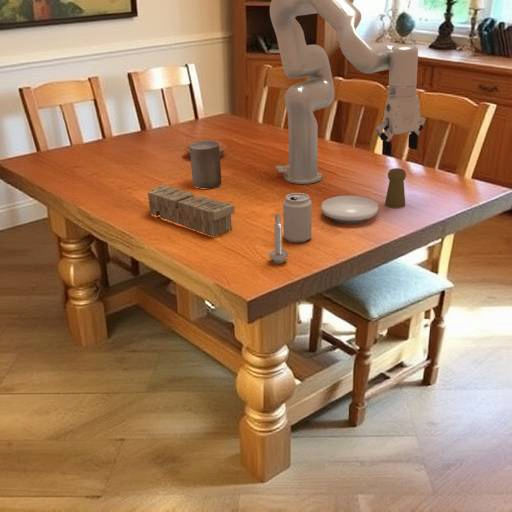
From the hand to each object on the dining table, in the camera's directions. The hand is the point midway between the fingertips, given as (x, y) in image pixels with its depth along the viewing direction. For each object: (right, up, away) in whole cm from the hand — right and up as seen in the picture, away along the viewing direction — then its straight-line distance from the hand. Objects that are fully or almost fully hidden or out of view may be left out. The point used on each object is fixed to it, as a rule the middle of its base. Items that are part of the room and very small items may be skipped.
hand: (399, 151), depth 195 cm
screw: (-36, -32, -26) cm, 54 cm away
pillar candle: (-58, -7, +29) cm, 65 cm away
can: (-30, -26, -13) cm, 42 cm away
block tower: (-60, -21, 0) cm, 64 cm away
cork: (0, -15, +7) cm, 17 cm away
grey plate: (-15, -19, 0) cm, 24 cm away
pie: (-60, +7, +59) cm, 85 cm away
